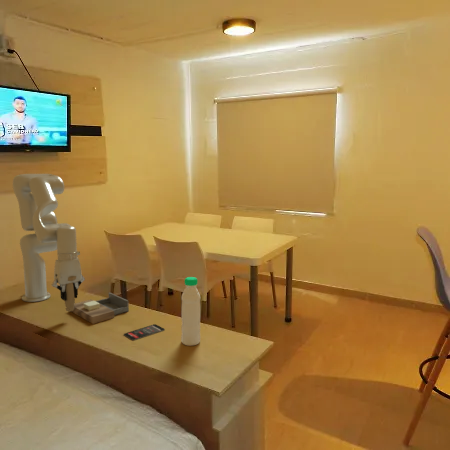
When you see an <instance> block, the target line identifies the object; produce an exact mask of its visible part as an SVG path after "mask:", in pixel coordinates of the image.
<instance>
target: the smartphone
mask: <svg viewBox="0 0 450 450" xmlns="http://www.w3.org/2000/svg"><path fill="white" fill-rule="evenodd" d="M161 332H165V328H164V327H162V326H161V325H158V324H155V323H154V324H151V325H148V326H144V327H141V328H138V329H134V330H132V331H128V332H125V333H123V337H126V338H127V339H129V340H130V341H132V342H133V341H137V340H139V339H143V338H145V337H149V336H151V335H155V334H158V333H161Z"/></svg>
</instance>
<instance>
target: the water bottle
mask: <svg viewBox="0 0 450 450" xmlns="http://www.w3.org/2000/svg"><path fill="white" fill-rule="evenodd" d="M184 286H185V287H184V290H183V292H182V294H181V343H182V344H183V345H185V346H191V347H192V346H193V347H194V346H196V345H198V344H199V343H200V342H201V294H200V292H199V290H198V288H197V286H198V278H197V277H194V276H188V277H186V278H184Z"/></svg>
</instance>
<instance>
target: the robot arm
mask: <svg viewBox="0 0 450 450" xmlns="http://www.w3.org/2000/svg"><path fill="white" fill-rule="evenodd" d="M12 190H13V193H14V196H15V197H16V200H17V202H18V209H19V216H20V225H21V229H23V230H24V231H25V232H34V233H29V234H26V235H23V236H22V237H21V238H20V240H19V247H20V252H21V254H22V255H21V256H22V261H23V262H22V263H23V279H24V293H25V294H23V295H22V297H21V300H22V301H23V302H29V303H33V302H35V303H36V302H42V301H45V300H47V299H48V300H49V298H51V293H50V292H49V291H47V273H46V271H47V270H46V261H45V259H44V258H43V257H42V256H41V255H40V254H42V253H49V252H54V251H57V259H55V262H54V270H53V271H54V272H53V282H52V283H51V287H53V288H56V289H57V290H59V291H60V299H61V300H62V301H64V302H65V301H66V300H67V298H66V291H65V285H66V284H69V283H73V287H74V296H75V299H78V295H79V291H78V289H79V288H80V286H81V284H82V283H83V282H84V281H86V279H85V277H84V276H83V275H82V268H81V267H82V266H81V262H80V259H79V257H78V256H80V255H81V253H80V251H78V249H77V248H78V247H77V245H78V243H77V229H76V227H75V226H73V225H71V224H69V223H67V222H64V223H62V222H61V223H58V218H57V215H56V213H55V212H54V211H55V210H56V209H58V206H59V202H58V199H57V197H56V195H61V194H63V193H64V192H65V182H64V181H63V179H62V177H60V176H59V175H55V174H52V173H22V174H18V175H15V176H14V177H13V179H12ZM73 276H76V277H77V278H76V279H75V280H74V281H68V277H73Z"/></svg>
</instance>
